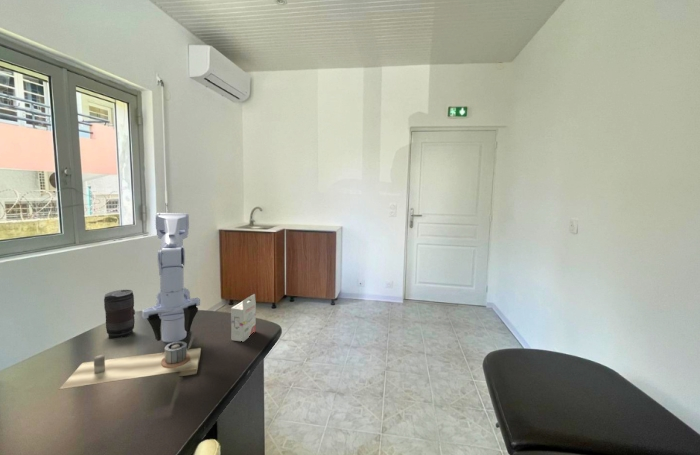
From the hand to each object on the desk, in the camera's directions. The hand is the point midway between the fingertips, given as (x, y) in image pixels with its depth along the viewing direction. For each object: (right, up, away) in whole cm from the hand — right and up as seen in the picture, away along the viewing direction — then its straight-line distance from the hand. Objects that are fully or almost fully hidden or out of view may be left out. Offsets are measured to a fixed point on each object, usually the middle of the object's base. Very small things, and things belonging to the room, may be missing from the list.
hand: (173, 335), depth 86 cm
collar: (0, -7, +1) cm, 7 cm away
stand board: (-8, -9, -2) cm, 13 cm away
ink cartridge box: (+13, -8, +21) cm, 26 cm away
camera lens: (-29, -6, +18) cm, 34 cm away
